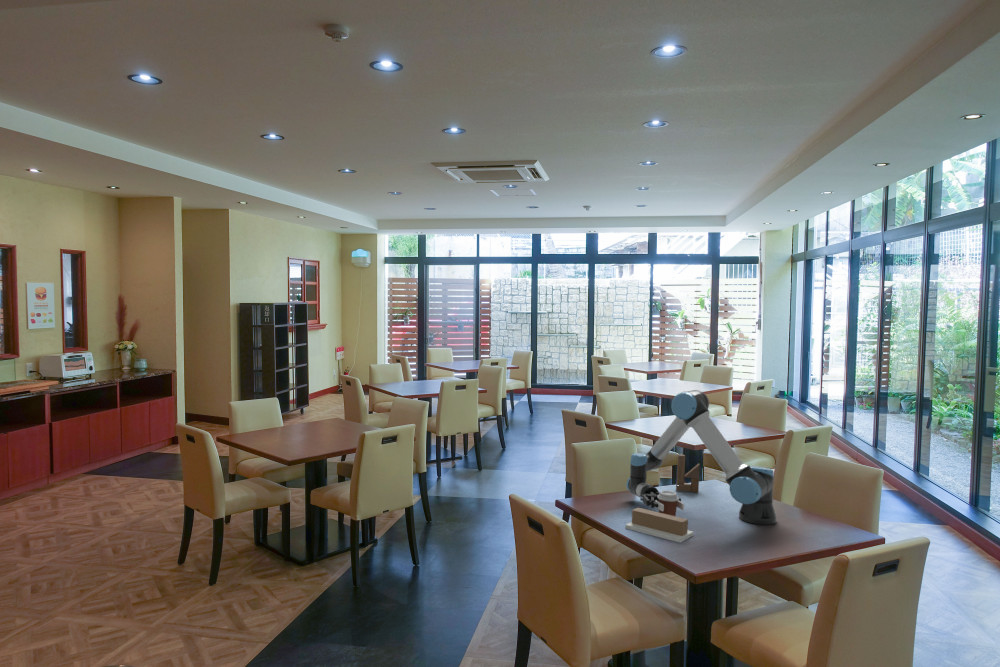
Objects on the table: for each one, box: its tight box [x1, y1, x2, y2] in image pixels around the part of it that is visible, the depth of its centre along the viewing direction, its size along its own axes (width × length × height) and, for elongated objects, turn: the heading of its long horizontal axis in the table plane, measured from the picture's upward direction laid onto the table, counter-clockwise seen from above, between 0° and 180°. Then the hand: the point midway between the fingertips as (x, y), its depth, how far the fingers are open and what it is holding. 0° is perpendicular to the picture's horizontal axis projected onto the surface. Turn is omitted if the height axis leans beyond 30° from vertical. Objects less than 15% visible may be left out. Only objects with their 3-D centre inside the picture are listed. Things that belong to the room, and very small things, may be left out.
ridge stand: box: [624, 507, 694, 544], centre depth 263 cm, size 24×12×7 cm, turn 50°
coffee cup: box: [657, 490, 680, 517], centre depth 278 cm, size 9×9×12 cm
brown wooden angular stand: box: [675, 454, 700, 494], centre depth 327 cm, size 4×11×18 cm, turn 76°
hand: (673, 507), depth 274 cm, fingers closed on coffee cup, 9 cm apart
